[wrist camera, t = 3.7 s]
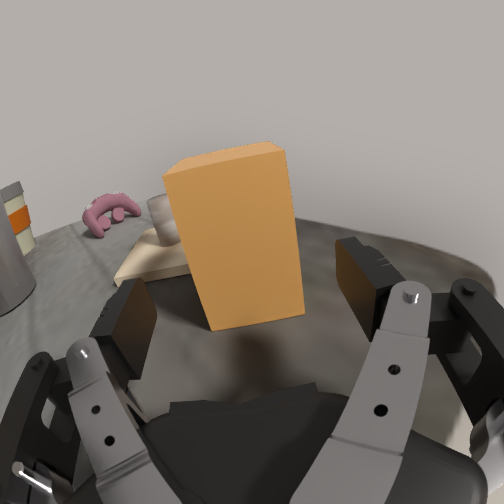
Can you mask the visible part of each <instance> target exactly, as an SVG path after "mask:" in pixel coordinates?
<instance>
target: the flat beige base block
mask: <svg viewBox="0 0 504 504" xmlns="http://www.w3.org/2000/svg"><path fill="white" fill-rule="evenodd" d="M147 205H148V208H149V211H150V215H151V218H152V221H153V224H154V227H155V228H152V229H148V230H145V231H144V233H143V234H142V236H141V237H140V239H139V240H138V242H137V243H136V244H135V246H134V247H133V249H132V250H131V252H130V253H129V255H128V257H127V258H126V260H125V261H124V263H123V264H122V266H121V267H120V269H119V271H118V272H117V274H116V275H115V277H114V280H115V283H116V285H117V287H120V285H121V283H122V281H123V280H126V279H132V278H137V277H141V278H142V279H143V281H144V282H148V281H154V280H159V279H164V278H170V277H175V276H180V275H186V274H191V271H190V268H189V265H188V262H187V259H186V256H185V253H184V249H183V246H182V243H181V240H180V237H179V233H178V230H177V227H176V223H175V220H174V217H173V213H172V210H171V206H170V203H169V199H168V196H167V194H162V195H159V196H156V197H153V198H151V199H149V200H148V201H147Z"/></svg>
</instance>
